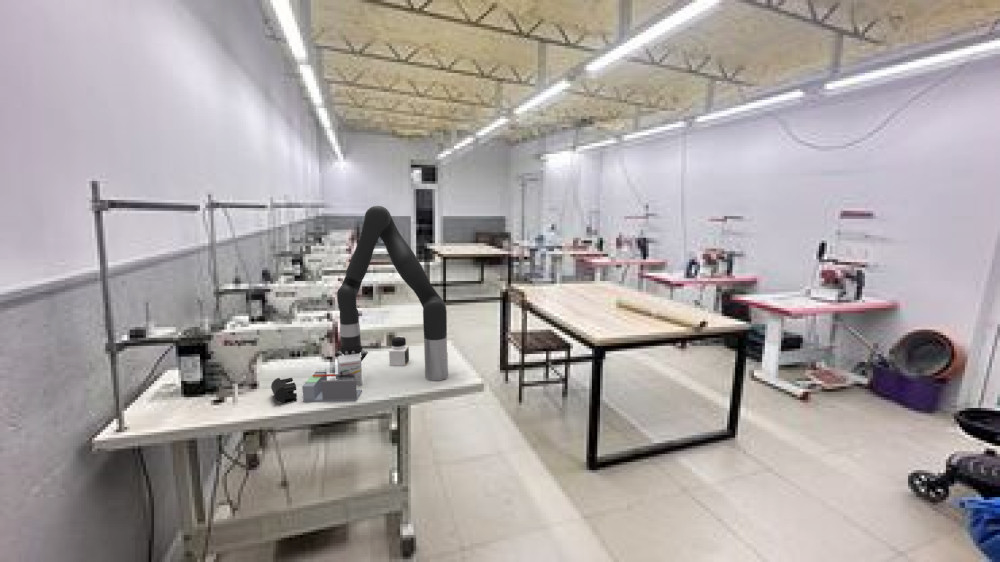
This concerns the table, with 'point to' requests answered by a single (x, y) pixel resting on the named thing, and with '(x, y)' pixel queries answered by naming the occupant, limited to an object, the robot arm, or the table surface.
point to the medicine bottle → (399, 352)
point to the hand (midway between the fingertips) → (352, 374)
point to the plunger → (337, 376)
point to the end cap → (284, 390)
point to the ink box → (350, 366)
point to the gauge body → (329, 389)
